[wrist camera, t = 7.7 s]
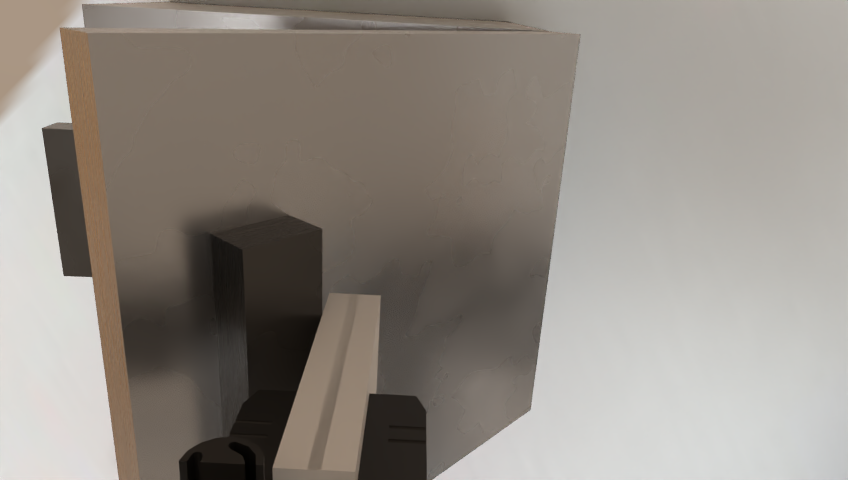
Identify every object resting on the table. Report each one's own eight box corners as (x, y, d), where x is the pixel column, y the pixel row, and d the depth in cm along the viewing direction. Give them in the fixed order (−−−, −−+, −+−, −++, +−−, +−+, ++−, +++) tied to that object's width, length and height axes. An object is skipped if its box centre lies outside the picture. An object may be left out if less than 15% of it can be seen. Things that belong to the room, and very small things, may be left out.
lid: (550, 31, 23) (612, 36, 21) (507, 397, 28) (555, 422, 27) (59, 27, 12) (118, 38, 10) (140, 638, 17) (186, 706, 15)
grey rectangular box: (507, 21, 31) (549, 31, 23) (481, 303, 37) (506, 395, 28) (116, -2, 30) (8, 0, 22) (145, 291, 36) (68, 383, 27)
